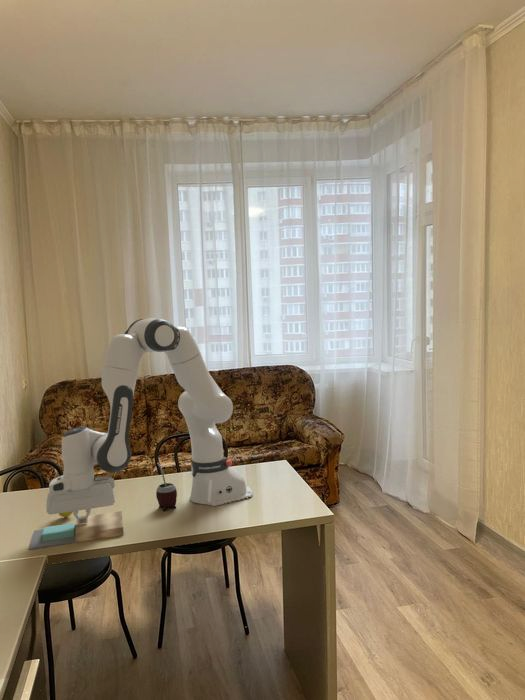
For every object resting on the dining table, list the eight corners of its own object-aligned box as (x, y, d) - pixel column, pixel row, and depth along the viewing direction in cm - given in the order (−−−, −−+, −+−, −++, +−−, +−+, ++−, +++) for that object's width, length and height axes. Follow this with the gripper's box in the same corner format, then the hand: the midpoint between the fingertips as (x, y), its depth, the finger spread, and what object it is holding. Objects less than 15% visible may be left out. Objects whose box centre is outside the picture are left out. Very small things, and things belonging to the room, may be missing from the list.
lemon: (57, 516, 183) (55, 493, 182) (74, 513, 185) (73, 491, 184) (57, 522, 178) (55, 498, 177) (75, 519, 180) (73, 496, 179)
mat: (77, 525, 175) (77, 524, 175) (75, 542, 161) (75, 541, 161) (34, 531, 171) (34, 530, 171) (28, 549, 158) (28, 548, 158)
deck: (122, 518, 179) (121, 511, 178) (123, 534, 165) (123, 527, 165) (77, 525, 175) (77, 517, 175) (75, 542, 161) (74, 534, 161)
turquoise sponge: (75, 528, 171) (74, 522, 171) (74, 536, 165) (73, 530, 165) (45, 533, 168) (44, 527, 168) (42, 541, 163) (42, 534, 163)
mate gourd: (173, 512, 182) (170, 468, 181) (151, 511, 184) (148, 468, 183) (181, 504, 190) (178, 462, 188) (160, 503, 191) (157, 462, 190)
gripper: (113, 472, 173) (117, 513, 175) (45, 481, 168) (49, 524, 169) (114, 478, 167) (117, 521, 169) (43, 487, 162) (47, 532, 163)
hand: (83, 522), depth 169 cm, fingers closed
